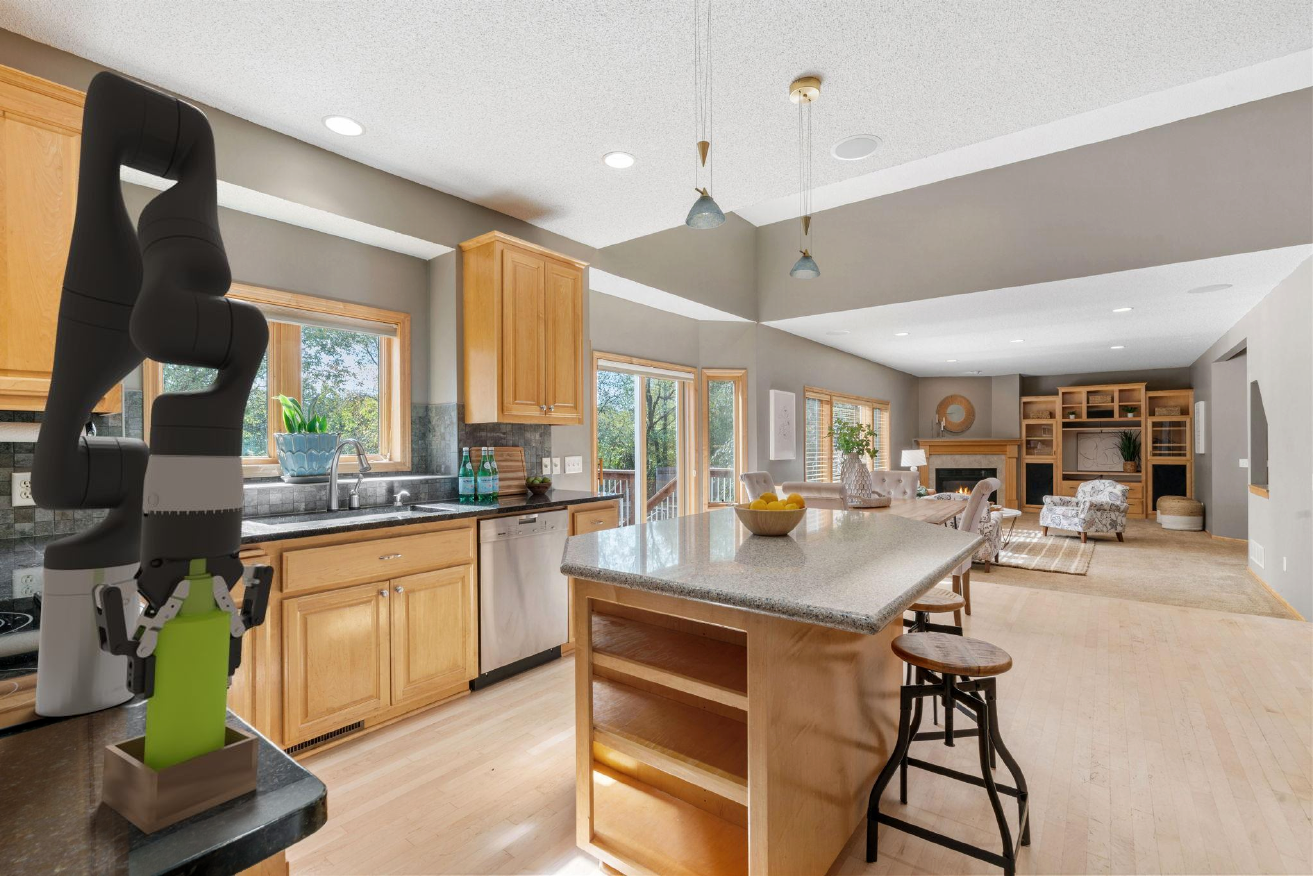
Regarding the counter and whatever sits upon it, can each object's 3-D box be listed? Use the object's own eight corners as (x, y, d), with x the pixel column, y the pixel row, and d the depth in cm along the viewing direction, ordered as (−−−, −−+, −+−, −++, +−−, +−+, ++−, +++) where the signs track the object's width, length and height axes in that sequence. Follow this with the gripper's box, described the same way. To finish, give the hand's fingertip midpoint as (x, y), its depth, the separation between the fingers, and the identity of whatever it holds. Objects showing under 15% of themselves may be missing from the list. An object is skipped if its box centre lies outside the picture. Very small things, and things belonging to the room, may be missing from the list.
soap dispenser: (209, 735, 61) (220, 534, 62) (233, 757, 57) (243, 540, 58) (134, 756, 57) (145, 538, 57) (152, 782, 52) (165, 546, 53)
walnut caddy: (101, 800, 55) (104, 746, 56) (207, 762, 63) (209, 714, 63) (147, 834, 51) (150, 775, 51) (256, 788, 58) (258, 737, 58)
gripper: (255, 499, 66) (248, 657, 65) (78, 506, 53) (67, 702, 53) (294, 502, 62) (287, 671, 61) (114, 511, 49) (102, 723, 49)
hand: (186, 685), depth 57 cm, fingers closed on soap dispenser, 6 cm apart
